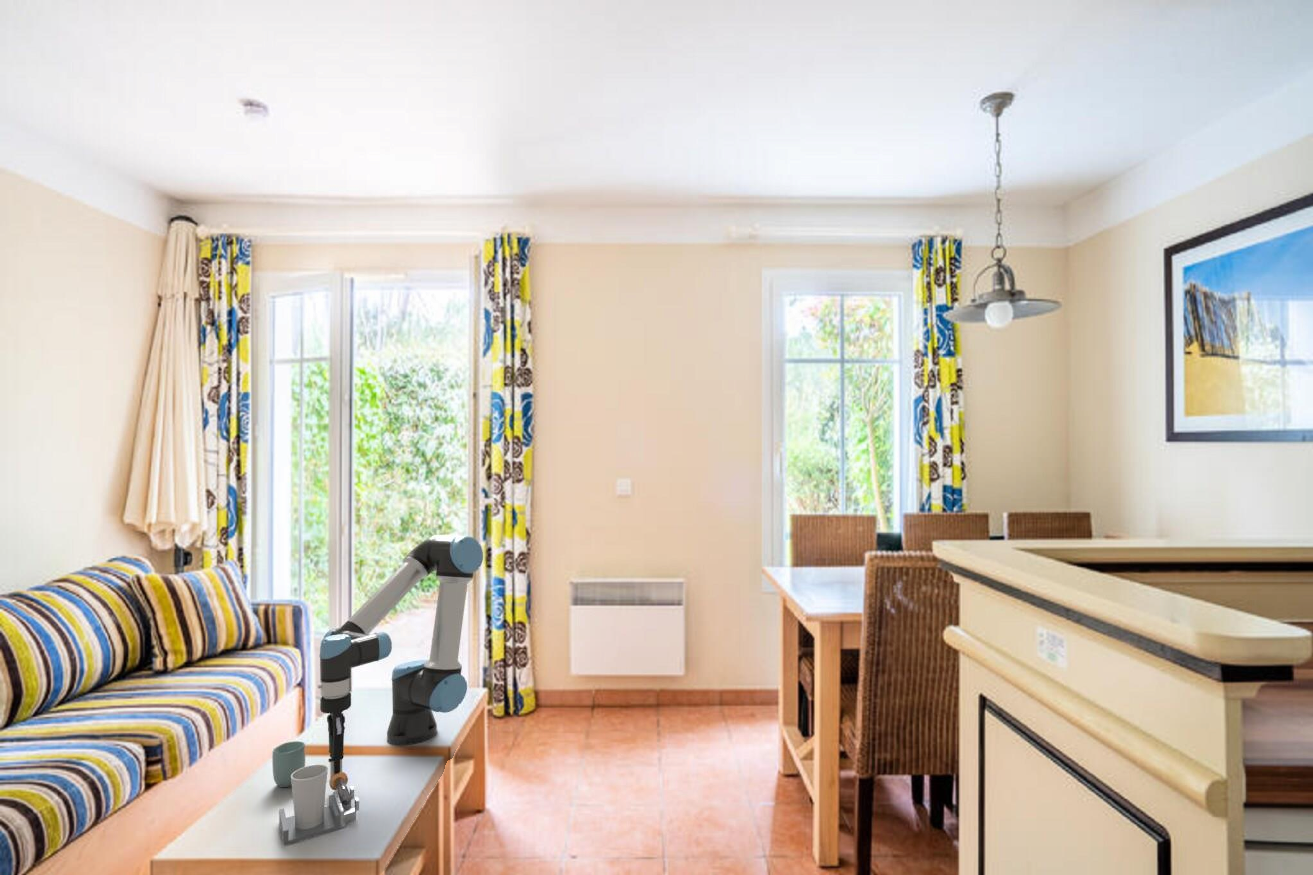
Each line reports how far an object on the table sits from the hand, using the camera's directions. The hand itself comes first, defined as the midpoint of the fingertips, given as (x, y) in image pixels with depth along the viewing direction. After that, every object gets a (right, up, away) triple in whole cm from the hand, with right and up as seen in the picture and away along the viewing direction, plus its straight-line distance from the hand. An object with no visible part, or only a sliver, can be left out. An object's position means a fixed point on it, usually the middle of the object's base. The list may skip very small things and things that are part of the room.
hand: (336, 783), depth 178 cm
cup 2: (+2, -1, -17) cm, 17 cm away
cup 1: (-15, -3, +5) cm, 16 cm away
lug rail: (+9, -1, -13) cm, 15 cm away
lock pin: (+5, 0, -7) cm, 8 cm away
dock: (+2, -1, -17) cm, 17 cm away
